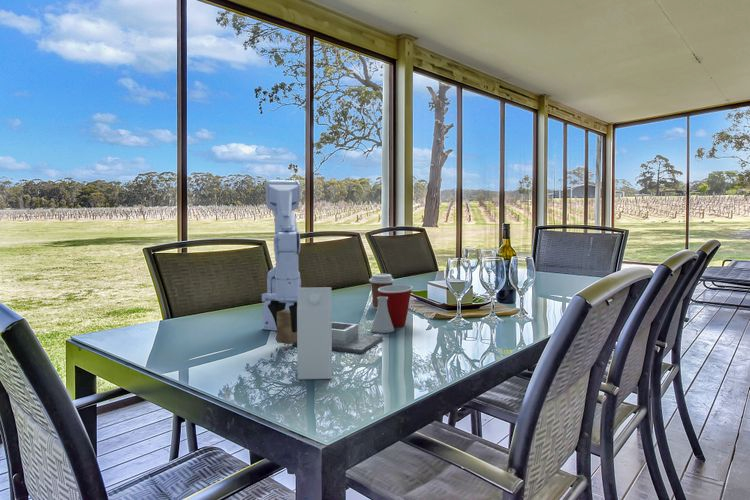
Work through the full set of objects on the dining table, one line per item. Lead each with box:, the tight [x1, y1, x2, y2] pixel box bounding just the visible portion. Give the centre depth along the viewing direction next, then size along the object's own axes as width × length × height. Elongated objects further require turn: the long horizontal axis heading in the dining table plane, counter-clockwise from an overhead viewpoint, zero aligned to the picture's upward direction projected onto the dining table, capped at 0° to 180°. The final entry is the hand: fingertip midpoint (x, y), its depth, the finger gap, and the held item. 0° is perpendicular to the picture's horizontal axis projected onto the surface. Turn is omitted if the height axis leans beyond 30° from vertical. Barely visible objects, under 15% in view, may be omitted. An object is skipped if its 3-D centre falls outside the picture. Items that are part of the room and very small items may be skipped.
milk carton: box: [296, 286, 333, 380], centre depth 108 cm, size 7×7×19 cm
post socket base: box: [291, 321, 384, 355], centre depth 134 cm, size 20×14×4 cm
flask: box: [370, 297, 395, 334], centre depth 147 cm, size 7×7×10 cm
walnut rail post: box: [276, 309, 297, 345], centre depth 130 cm, size 4×4×8 cm
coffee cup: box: [368, 273, 395, 310], centre depth 182 cm, size 9×9×12 cm
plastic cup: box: [378, 284, 414, 328], centre depth 154 cm, size 11×11×12 cm
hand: (287, 330), depth 130 cm, fingers closed on walnut rail post, 4 cm apart
